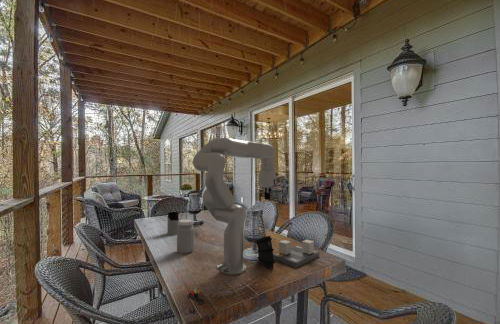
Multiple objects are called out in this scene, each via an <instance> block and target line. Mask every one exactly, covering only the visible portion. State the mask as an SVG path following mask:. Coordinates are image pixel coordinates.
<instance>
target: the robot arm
mask: <svg viewBox="0 0 500 324" xmlns="http://www.w3.org/2000/svg"><path fill="white" fill-rule="evenodd" d="M225 156H226V157H234V158H235V157H236V158H246V159H247V158H253V159H260V161H261V162H260V170H259V174H258V183H257V184H258V185H257V186H259V188H260V189H261V190H262V191H263V193H264V198H263V199H264V200H265V201H267V200H268V201H269V200H271V193H272V192H273V191H274V190H276V186H277V175H276V171H275V147H274V146H273V145H271V144H269V143H264V142H258V141H257V142H255V141H249V140H243V139H242V140H241V139H236V138H231V137H220V138H213V139H211V140H210V141H208V142H207V143H206V144H205V145H204V146H203V147H202V148H201V149H199V151H198V152H196V154H194V157H193V158H192V165H193V167H194V169H195V170H197V171H199V172H206V177H205V181H204V185H205V188H206V189H205V190H204V191H203V193H202V203H203V204H204V206H205V208H206V210H208V212H209V213H210V215H211V216H212V217H213V219H215V220H216V221H217V222H221V223H225V224H227V225H226V227H225V229H224V231H223V260H222V261H221V263H220V264H219V265H218V264H217V265H215V270H216V271H220V272H222V273H223V274H226V275H229V276H235V275H241V274H244V273H246V271H247V265H246V264H245V263H244V231H245V229H244V228H245V222H246V217H247V216H246V215H247V213H246V210H245V208H244V207H243V206H242V205H240V204H236V203H235V198H234V195H233V193H232V192H231V190H230V188H229V187H228V185H227V183H226V181H225V180H224V171H225V168H226V158H225ZM234 203H235V204H234Z"/></svg>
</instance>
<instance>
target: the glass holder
mask: <svg viewBox="0 0 500 324" xmlns="http://www.w3.org/2000/svg"><path fill="white" fill-rule="evenodd" d="M183 215H185V216H186V217H185V219H188V216H187V214H186V213H182V214H181V215H180V214H179V212H178V211H171V212H168V213H167V232H166V236H177V229H178V228H179V227H178V226H179V224H178V221H179V220H182V216H183ZM179 216H180V219H179Z"/></svg>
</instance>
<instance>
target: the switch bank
mask: <svg viewBox="0 0 500 324" xmlns="http://www.w3.org/2000/svg"><path fill="white" fill-rule="evenodd" d="M319 257H320V251H317V250H315V249H314V253H311V254H307V253H304V252H303V246H301V245H294V246H291V253H289V254H286V255H285V254H282V253H279V252H277V253H273V260H274V261H277V262H280V263H283V264H285V265H288V266H291V267H294V268H299V267H301V266H303V265H304V264H306V263H307V264H308V263H309V262H311V261H313V260H314V259H316V258H319Z"/></svg>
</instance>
